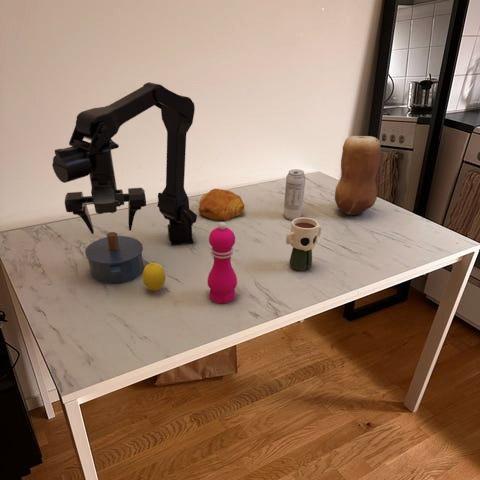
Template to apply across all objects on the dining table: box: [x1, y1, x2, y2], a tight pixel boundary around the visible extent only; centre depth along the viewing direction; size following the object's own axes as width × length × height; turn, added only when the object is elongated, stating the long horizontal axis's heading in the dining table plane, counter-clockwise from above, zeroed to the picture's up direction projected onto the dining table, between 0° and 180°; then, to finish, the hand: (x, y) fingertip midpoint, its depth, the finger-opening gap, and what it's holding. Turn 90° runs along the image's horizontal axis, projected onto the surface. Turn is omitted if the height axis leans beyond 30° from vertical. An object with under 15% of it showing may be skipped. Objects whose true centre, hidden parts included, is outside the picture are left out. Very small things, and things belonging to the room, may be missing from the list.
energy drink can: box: [282, 168, 307, 221], centre depth 147 cm, size 6×6×15 cm
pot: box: [87, 252, 145, 285], centre depth 121 cm, size 14×19×6 cm
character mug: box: [285, 216, 322, 271], centre depth 122 cm, size 11×7×13 cm, turn 119°
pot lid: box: [84, 231, 144, 265], centre depth 118 cm, size 15×15×5 cm
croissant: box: [198, 188, 245, 221], centre depth 151 cm, size 14×16×8 cm
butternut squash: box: [334, 135, 382, 216], centre depth 147 cm, size 14×13×25 cm
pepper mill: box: [206, 221, 238, 304], centre depth 108 cm, size 7×7×20 cm
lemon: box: [141, 262, 166, 292], centre depth 113 cm, size 6×6×8 cm
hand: (111, 231), depth 116 cm, fingers open, 9 cm apart
